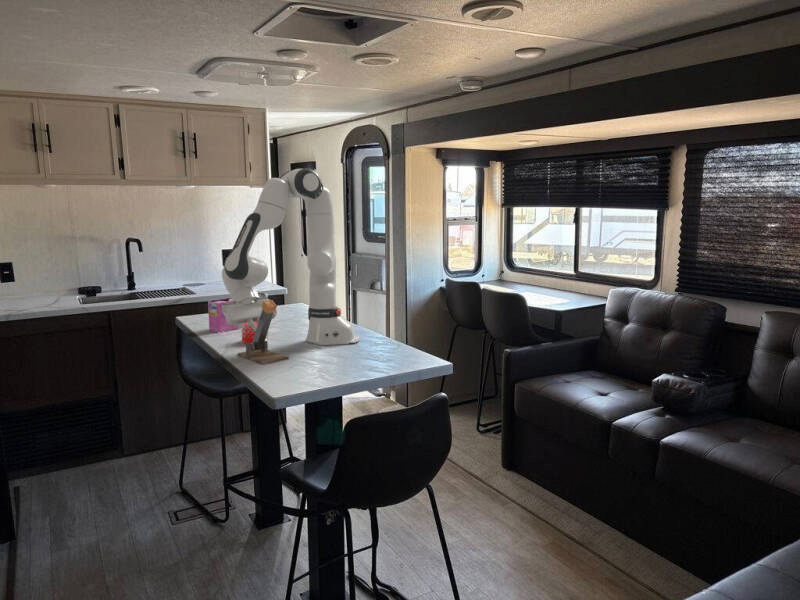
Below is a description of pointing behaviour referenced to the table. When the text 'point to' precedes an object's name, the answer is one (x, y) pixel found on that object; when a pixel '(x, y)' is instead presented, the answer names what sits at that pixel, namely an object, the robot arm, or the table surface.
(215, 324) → the gum box
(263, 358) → the lever base
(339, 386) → the table surface
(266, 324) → the lever
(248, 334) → the puzzle cube
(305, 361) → the table surface
